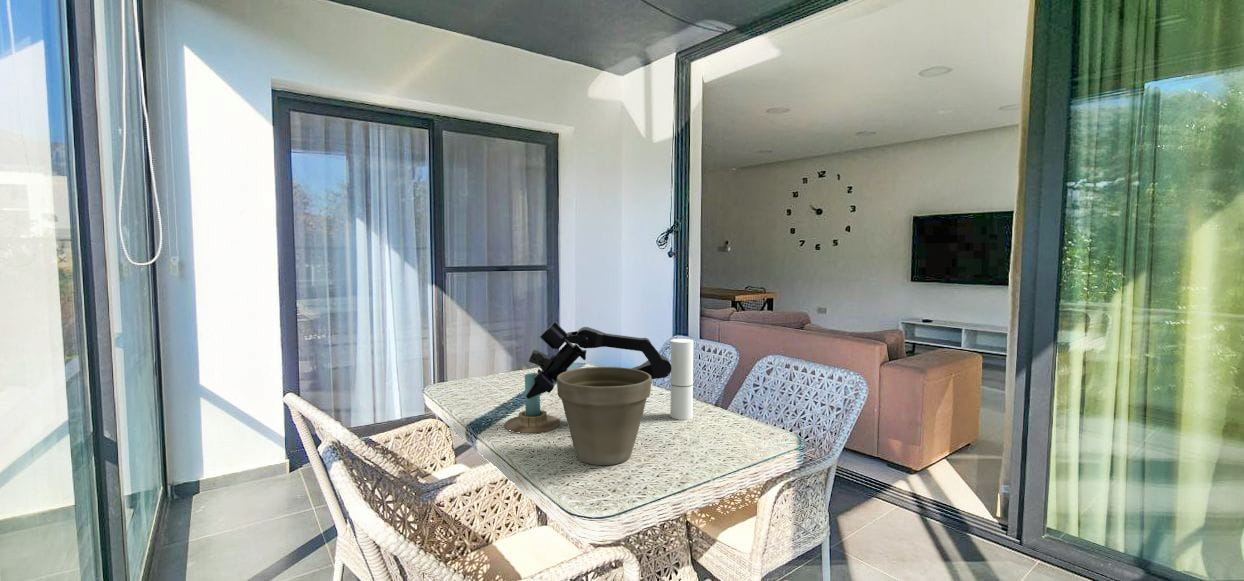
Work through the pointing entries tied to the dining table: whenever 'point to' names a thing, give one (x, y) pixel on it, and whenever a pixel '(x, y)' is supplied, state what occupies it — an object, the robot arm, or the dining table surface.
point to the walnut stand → (532, 423)
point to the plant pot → (603, 411)
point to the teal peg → (532, 403)
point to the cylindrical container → (681, 379)
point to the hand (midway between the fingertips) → (528, 395)
